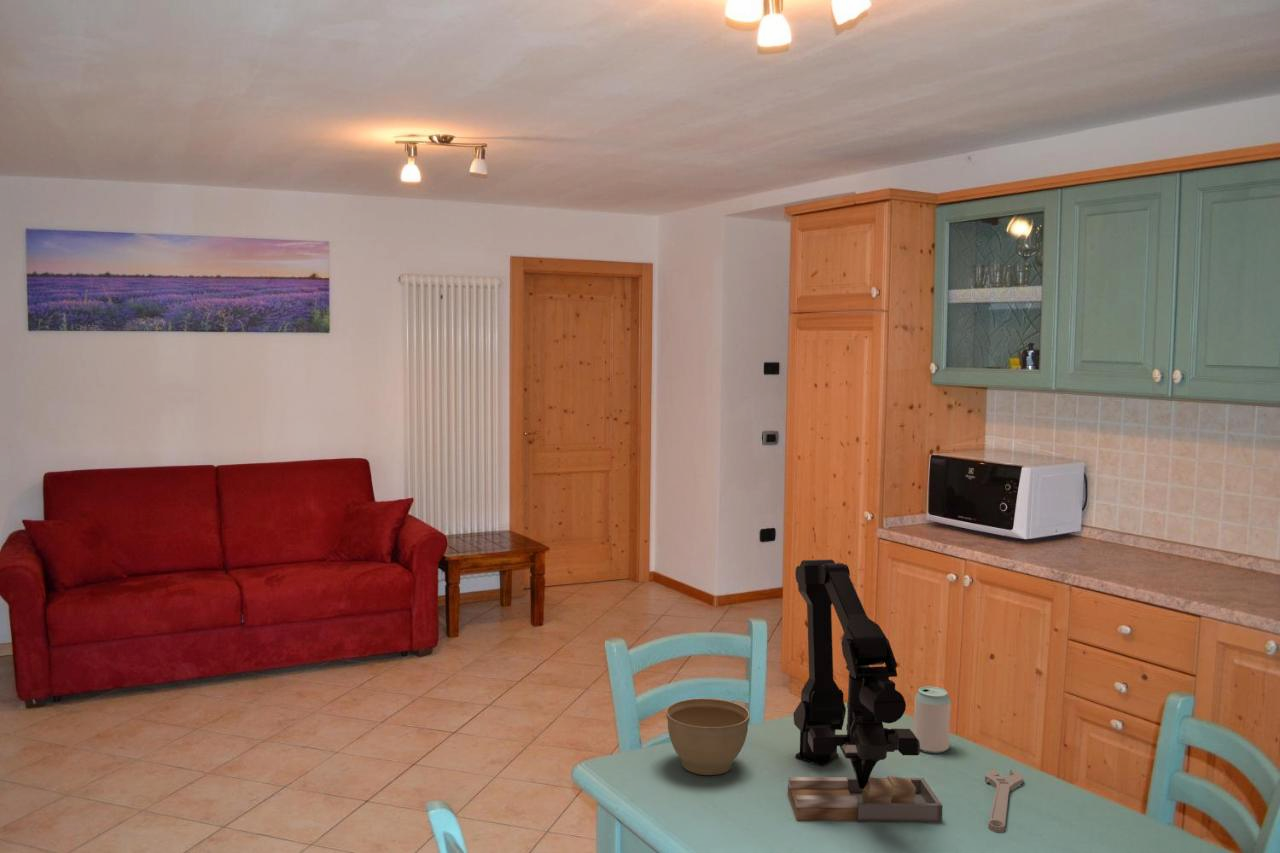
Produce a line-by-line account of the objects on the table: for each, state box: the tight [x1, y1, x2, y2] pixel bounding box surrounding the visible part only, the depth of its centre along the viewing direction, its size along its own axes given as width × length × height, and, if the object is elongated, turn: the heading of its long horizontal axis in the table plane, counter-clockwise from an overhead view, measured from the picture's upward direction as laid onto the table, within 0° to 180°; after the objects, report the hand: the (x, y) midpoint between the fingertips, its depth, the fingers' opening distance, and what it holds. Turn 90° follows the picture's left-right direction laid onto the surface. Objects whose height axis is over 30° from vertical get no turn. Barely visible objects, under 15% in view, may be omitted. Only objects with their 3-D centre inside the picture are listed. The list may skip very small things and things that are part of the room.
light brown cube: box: [886, 775, 916, 803], centre depth 177 cm, size 4×4×4 cm
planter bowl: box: [665, 697, 751, 776], centre depth 193 cm, size 16×16×11 cm
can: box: [913, 686, 952, 754], centre depth 204 cm, size 7×7×12 cm
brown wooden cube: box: [862, 776, 893, 803], centre depth 177 cm, size 4×4×4 cm
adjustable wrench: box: [984, 768, 1024, 833], centre depth 181 cm, size 25×6×2 cm, turn 152°
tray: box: [846, 777, 944, 823], centre depth 177 cm, size 14×11×3 cm
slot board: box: [787, 776, 858, 822], centre depth 177 cm, size 10×10×4 cm
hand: (861, 788), depth 177 cm, fingers closed
